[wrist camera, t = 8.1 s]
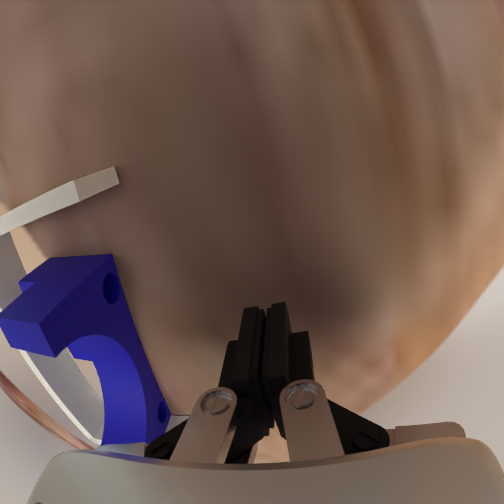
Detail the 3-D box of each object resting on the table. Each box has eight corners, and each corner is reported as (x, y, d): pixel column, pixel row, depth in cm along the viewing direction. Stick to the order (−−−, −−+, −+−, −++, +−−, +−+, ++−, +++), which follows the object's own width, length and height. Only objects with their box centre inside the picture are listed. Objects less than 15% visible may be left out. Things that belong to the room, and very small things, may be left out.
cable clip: (51, 256, 14) (-21, 313, 8) (113, 252, 13) (38, 323, 8) (117, 404, 19) (87, 466, 13) (171, 412, 18) (147, 484, 13)
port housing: (-2, 219, 13) (-35, 238, 10) (114, 166, 12) (73, 180, 9) (106, 415, 19) (92, 442, 17) (220, 422, 18) (212, 459, 15)
